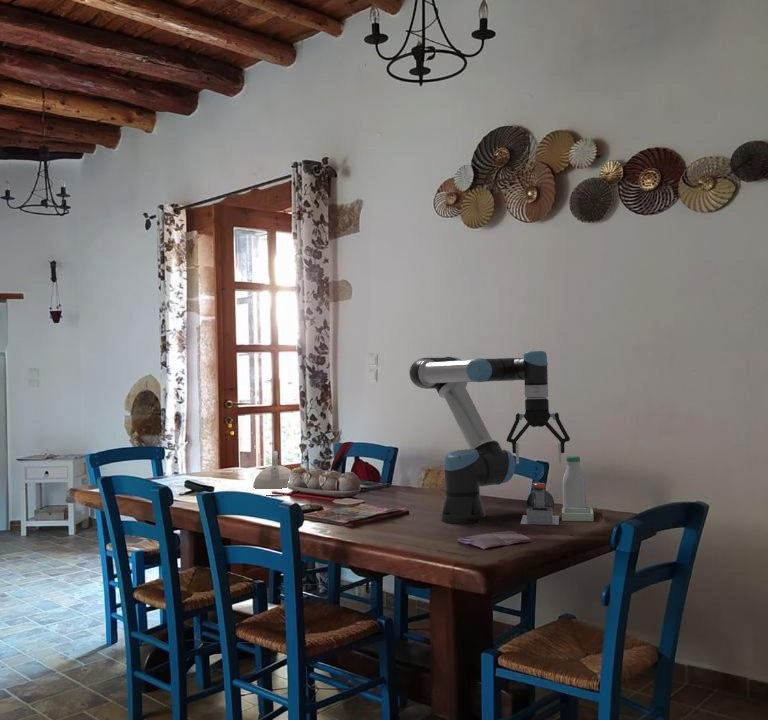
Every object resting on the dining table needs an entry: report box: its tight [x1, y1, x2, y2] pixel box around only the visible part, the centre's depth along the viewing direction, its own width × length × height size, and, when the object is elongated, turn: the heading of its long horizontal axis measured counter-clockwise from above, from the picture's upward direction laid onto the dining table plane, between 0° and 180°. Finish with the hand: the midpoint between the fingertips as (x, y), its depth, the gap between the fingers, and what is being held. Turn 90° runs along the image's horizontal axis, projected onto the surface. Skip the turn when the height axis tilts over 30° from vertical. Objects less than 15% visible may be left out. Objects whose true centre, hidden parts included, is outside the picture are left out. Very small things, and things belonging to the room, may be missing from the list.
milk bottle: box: [562, 455, 587, 508], centre depth 278 cm, size 8×8×20 cm
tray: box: [561, 507, 594, 522], centre depth 265 cm, size 10×10×4 cm
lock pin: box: [531, 482, 546, 510], centre depth 261 cm, size 4×4×12 cm
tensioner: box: [520, 489, 560, 526], centre depth 263 cm, size 12×15×10 cm
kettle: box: [252, 450, 292, 489], centre depth 346 cm, size 20×21×18 cm
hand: (538, 463), depth 261 cm, fingers open, 13 cm apart
